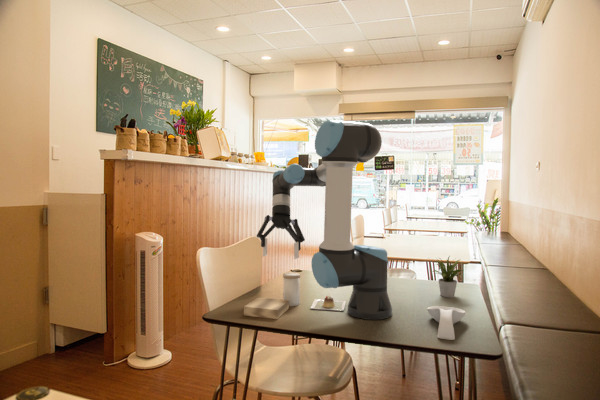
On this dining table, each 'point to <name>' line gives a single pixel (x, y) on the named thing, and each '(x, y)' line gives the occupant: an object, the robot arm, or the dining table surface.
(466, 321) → the dining table surface
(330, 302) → the dessert
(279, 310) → the base
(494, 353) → the dining table surface
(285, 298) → the canister
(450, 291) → the house plant
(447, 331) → the spoon rest
